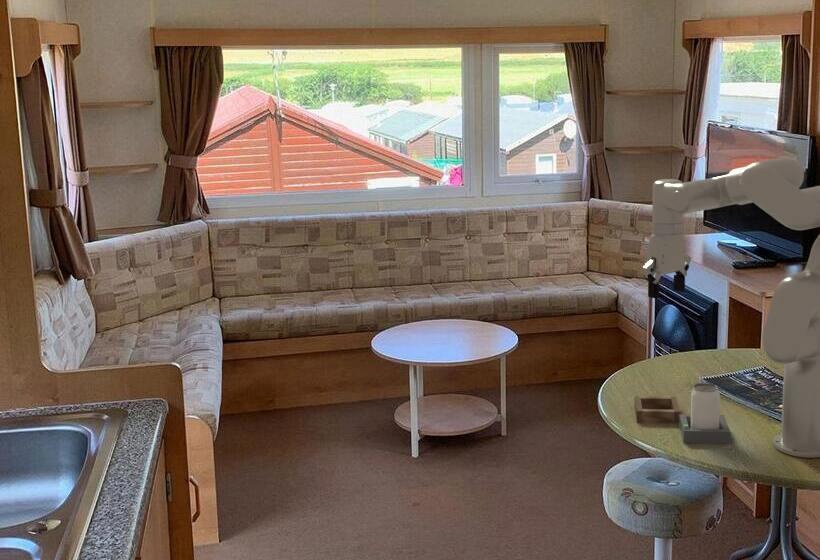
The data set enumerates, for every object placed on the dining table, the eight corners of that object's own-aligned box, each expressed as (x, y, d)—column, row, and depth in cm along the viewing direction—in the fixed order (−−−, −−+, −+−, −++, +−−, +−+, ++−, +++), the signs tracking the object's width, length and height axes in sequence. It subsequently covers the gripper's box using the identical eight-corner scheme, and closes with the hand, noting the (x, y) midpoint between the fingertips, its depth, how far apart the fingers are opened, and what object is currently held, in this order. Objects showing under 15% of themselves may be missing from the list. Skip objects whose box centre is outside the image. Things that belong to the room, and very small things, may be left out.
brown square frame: (676, 407, 242) (676, 396, 242) (680, 423, 232) (680, 411, 232) (634, 407, 244) (634, 396, 244) (636, 422, 234) (636, 411, 234)
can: (700, 442, 221) (701, 393, 218) (685, 432, 227) (686, 384, 224) (724, 437, 223) (726, 389, 220) (709, 427, 229) (710, 381, 226)
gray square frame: (723, 426, 229) (723, 412, 228) (729, 444, 219) (730, 429, 218) (679, 425, 231) (679, 411, 230) (683, 442, 221) (683, 428, 220)
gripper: (678, 222, 246) (677, 285, 250) (632, 231, 237) (632, 297, 241) (701, 225, 240) (700, 290, 244) (656, 235, 231) (655, 303, 235)
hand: (666, 294), depth 243 cm, fingers open, 9 cm apart
